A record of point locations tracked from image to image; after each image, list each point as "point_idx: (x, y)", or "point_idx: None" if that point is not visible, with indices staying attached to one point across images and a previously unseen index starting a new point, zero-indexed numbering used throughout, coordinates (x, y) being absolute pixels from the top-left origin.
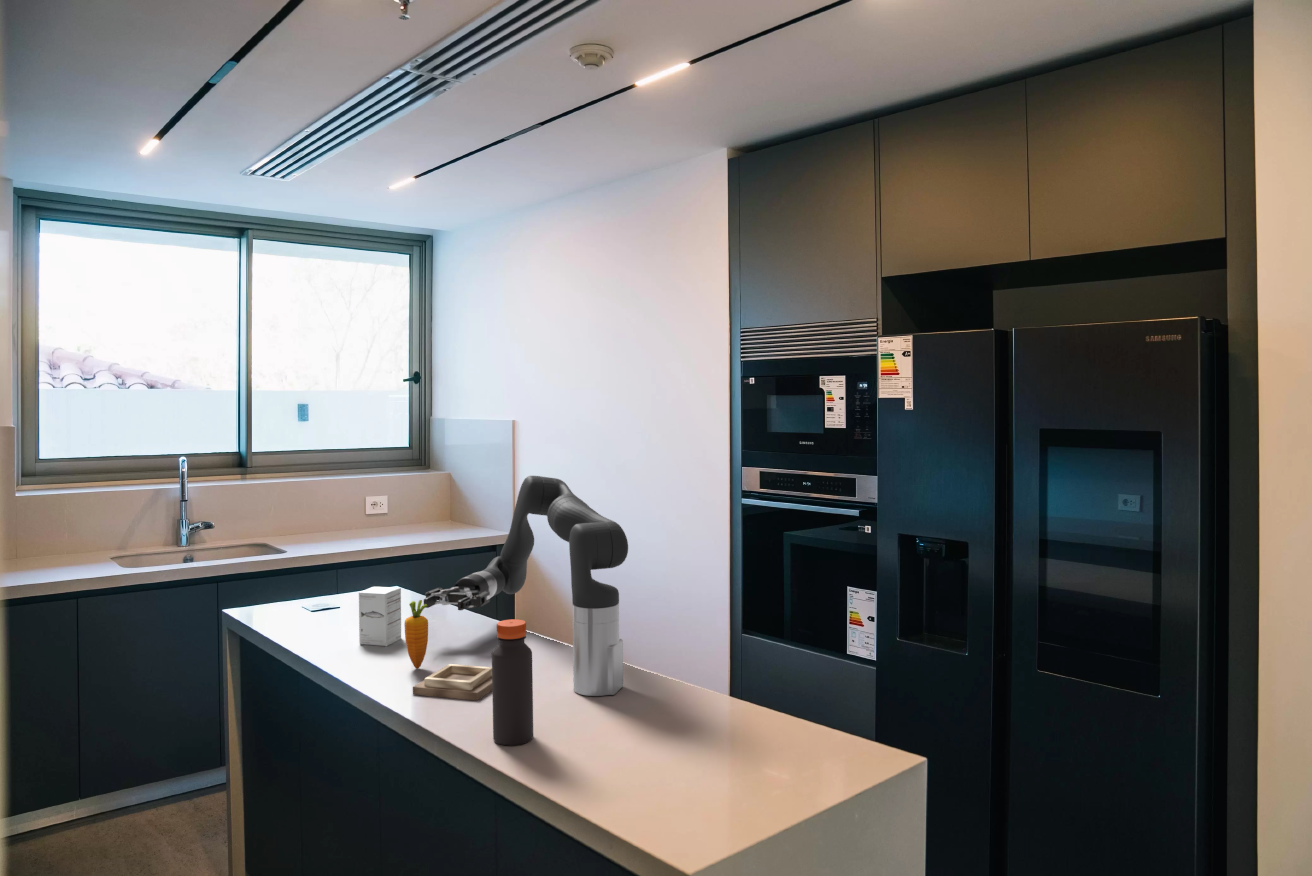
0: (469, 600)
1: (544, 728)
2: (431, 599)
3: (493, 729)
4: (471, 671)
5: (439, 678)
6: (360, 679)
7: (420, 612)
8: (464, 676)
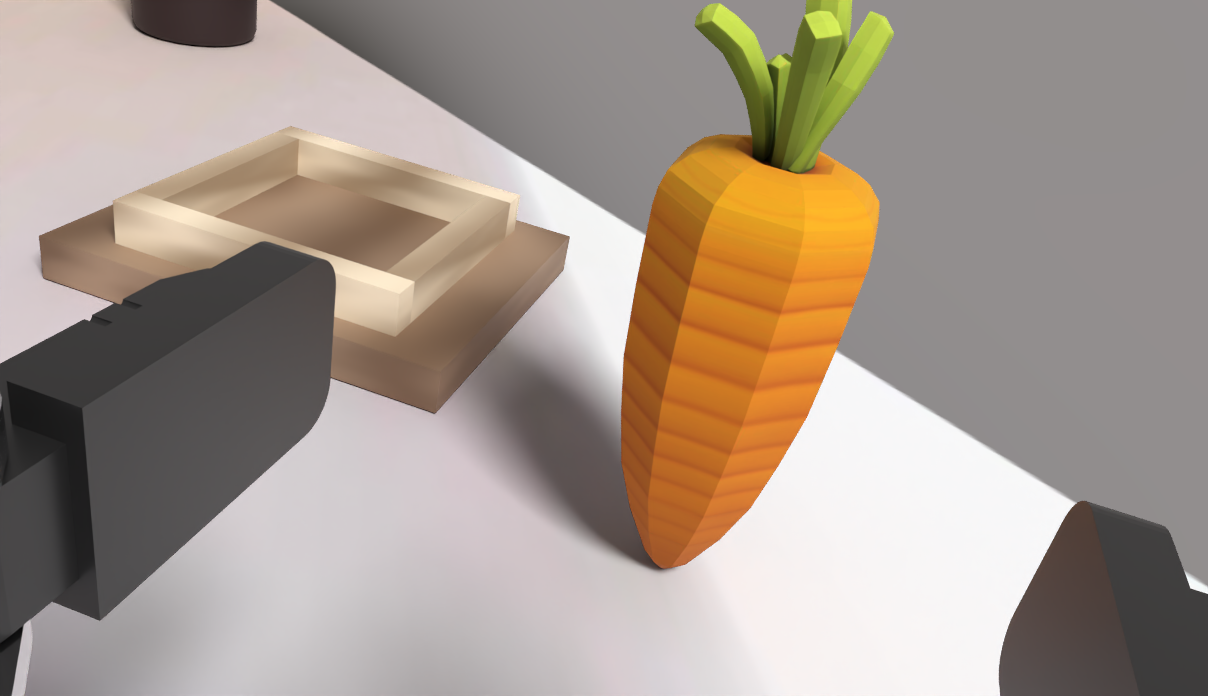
0: (15, 365)
1: (76, 33)
2: (1084, 681)
3: (256, 1)
4: None
5: (443, 181)
6: (947, 469)
7: (752, 106)
8: None
